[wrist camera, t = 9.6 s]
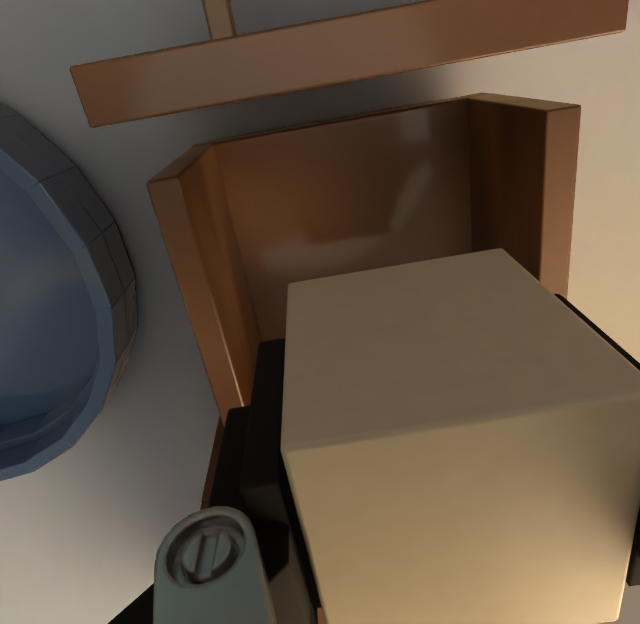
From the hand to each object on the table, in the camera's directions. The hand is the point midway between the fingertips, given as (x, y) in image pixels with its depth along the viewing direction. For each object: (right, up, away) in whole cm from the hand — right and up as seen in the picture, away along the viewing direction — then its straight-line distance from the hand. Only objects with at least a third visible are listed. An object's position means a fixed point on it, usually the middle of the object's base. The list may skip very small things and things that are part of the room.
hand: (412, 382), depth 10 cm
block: (0, +1, +1) cm, 1 cm away
